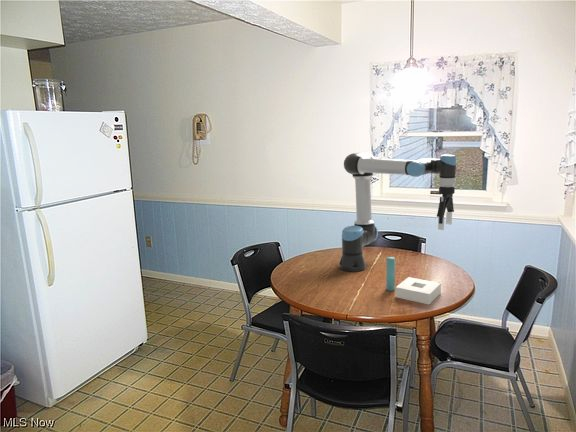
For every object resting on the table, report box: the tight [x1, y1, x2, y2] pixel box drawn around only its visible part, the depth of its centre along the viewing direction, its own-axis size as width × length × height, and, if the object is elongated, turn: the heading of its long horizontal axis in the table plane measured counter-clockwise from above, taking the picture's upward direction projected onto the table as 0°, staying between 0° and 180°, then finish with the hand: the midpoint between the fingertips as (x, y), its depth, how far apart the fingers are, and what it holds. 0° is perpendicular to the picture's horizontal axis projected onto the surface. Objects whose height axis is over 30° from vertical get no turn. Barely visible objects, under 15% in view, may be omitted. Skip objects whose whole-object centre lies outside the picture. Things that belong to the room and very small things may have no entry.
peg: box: [385, 256, 396, 292], centre depth 208 cm, size 4×4×16 cm
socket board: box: [394, 276, 442, 305], centre depth 201 cm, size 16×16×5 cm
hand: (444, 226), depth 219 cm, fingers open, 13 cm apart
